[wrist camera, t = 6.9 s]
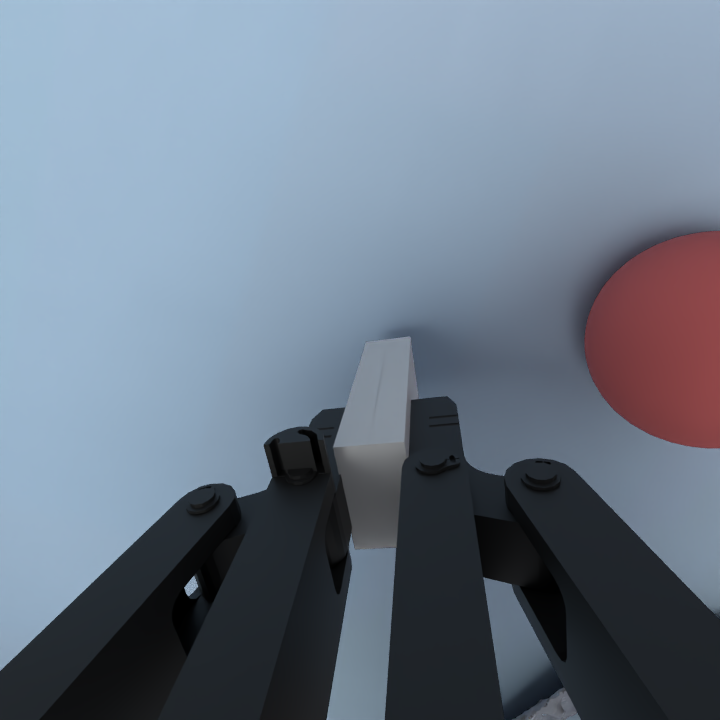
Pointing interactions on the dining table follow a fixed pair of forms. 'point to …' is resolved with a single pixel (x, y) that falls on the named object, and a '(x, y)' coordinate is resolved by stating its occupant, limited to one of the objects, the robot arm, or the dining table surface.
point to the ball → (662, 340)
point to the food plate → (551, 708)
